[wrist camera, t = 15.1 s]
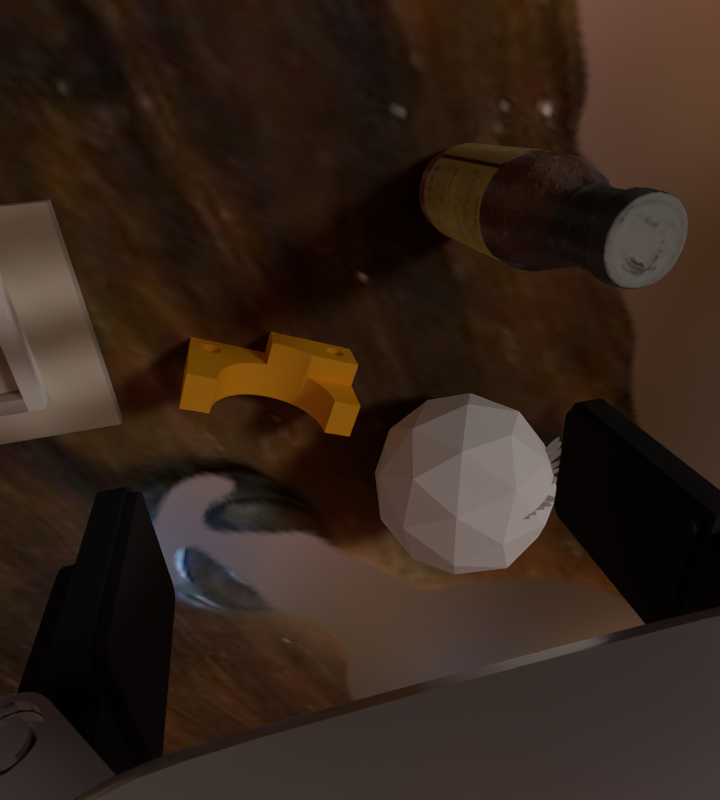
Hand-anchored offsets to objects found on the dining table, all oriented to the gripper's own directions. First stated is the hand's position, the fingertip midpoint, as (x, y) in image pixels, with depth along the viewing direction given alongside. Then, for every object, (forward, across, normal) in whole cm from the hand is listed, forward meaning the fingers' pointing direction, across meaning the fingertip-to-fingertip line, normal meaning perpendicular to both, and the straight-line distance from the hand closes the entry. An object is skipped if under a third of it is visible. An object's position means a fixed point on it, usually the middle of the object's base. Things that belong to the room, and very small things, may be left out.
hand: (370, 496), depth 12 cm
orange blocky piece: (+31, +1, +10) cm, 32 cm away
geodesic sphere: (+31, -13, +20) cm, 38 cm away
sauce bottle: (+31, -14, -1) cm, 34 cm away
